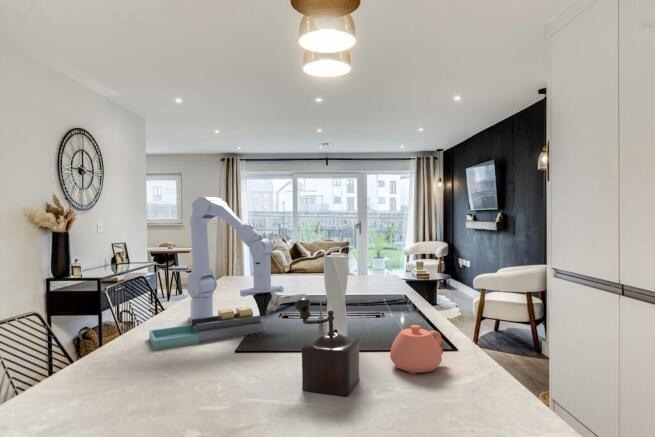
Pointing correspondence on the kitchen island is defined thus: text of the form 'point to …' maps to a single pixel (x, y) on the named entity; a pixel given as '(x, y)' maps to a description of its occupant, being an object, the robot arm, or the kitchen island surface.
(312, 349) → the brown manual coffee grinder
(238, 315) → the wooden cube
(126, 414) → the kitchen island surface
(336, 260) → the skyscraper
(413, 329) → the sugar bowl
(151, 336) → the tray
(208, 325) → the slot block
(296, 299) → the wrench
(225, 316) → the chip
